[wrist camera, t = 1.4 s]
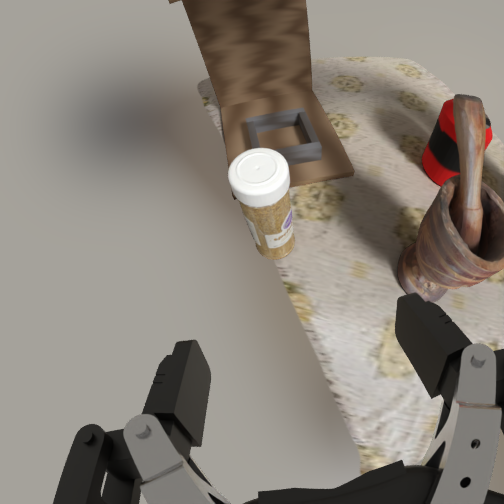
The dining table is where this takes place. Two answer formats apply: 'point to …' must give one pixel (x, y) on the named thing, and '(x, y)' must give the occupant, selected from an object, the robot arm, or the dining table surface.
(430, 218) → the mortar and pestle
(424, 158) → the soda can
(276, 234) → the sprinkles bottle
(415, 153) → the dining table surface
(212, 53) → the overhang stand
